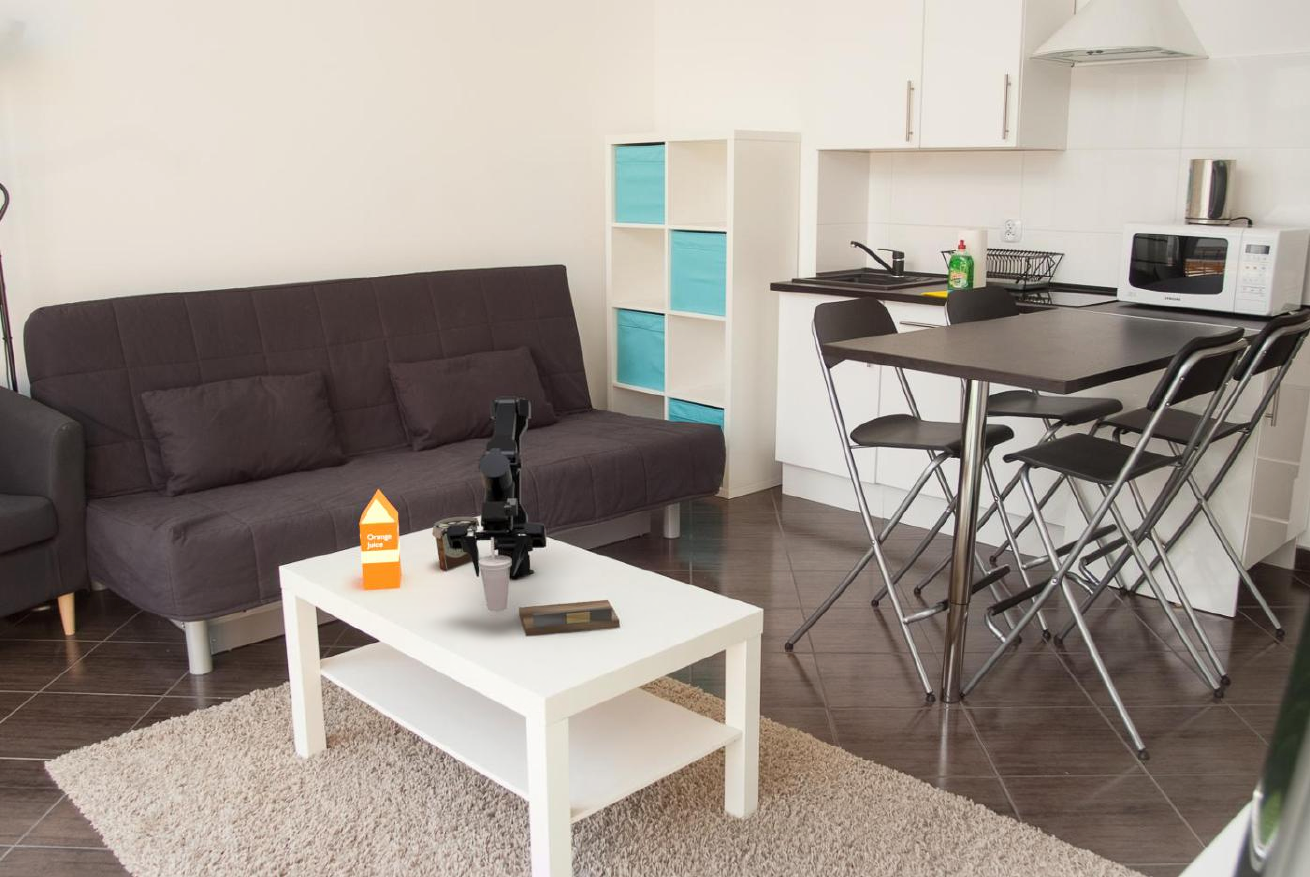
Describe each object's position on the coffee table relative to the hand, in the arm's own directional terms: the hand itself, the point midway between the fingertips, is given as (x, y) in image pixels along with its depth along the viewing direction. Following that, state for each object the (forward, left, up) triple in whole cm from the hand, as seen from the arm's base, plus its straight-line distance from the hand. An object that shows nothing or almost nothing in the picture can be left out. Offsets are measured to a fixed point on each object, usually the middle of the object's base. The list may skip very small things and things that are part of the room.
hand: (495, 575), depth 221 cm
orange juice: (-41, +8, -11) cm, 43 cm away
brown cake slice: (-38, +26, -11) cm, 47 cm away
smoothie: (-1, +1, -7) cm, 7 cm away
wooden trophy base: (+8, +12, -11) cm, 18 cm away
